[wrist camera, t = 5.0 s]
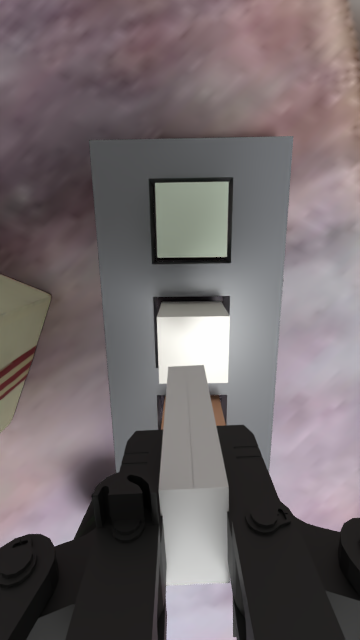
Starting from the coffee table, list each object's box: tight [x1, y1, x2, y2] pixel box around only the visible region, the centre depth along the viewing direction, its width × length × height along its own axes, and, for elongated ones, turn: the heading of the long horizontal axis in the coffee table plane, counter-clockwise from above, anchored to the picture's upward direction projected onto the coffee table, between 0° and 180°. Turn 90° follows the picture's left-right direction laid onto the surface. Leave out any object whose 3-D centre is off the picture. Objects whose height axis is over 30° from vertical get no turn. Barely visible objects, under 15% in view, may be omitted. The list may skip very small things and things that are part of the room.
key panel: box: [89, 136, 293, 473], centre depth 27 cm, size 14×28×4 cm, turn 1°
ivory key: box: [157, 301, 230, 384], centre depth 23 cm, size 5×5×5 cm
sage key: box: [155, 182, 229, 258], centre depth 23 cm, size 5×5×5 cm
